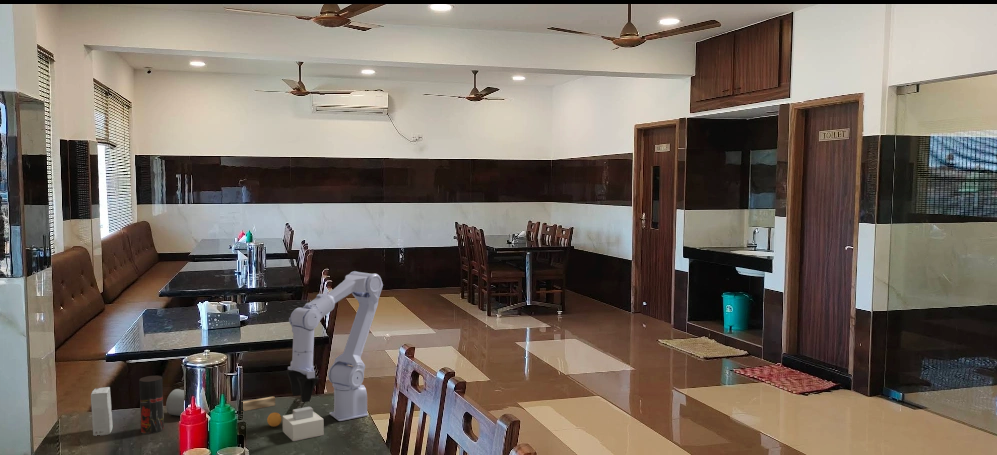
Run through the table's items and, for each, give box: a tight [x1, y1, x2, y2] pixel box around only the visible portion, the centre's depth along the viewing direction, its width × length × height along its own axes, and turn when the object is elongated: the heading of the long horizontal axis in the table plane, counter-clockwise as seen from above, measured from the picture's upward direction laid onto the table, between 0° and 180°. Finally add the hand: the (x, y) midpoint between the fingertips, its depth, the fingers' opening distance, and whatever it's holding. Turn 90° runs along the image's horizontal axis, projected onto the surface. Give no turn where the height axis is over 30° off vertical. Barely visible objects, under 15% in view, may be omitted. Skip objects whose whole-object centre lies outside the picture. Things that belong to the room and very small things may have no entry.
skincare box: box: [90, 386, 114, 437], centre depth 209 cm, size 6×4×12 cm
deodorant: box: [138, 375, 165, 435], centre depth 211 cm, size 6×6×15 cm
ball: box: [266, 412, 283, 428], centre depth 215 cm, size 4×4×4 cm
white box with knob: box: [282, 406, 325, 442], centre depth 209 cm, size 9×9×7 cm
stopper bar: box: [242, 396, 276, 412], centre depth 231 cm, size 12×2×2 cm, turn 124°
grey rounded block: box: [165, 388, 184, 417], centre depth 225 cm, size 11×8×8 cm
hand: (301, 398), depth 209 cm, fingers open, 7 cm apart
